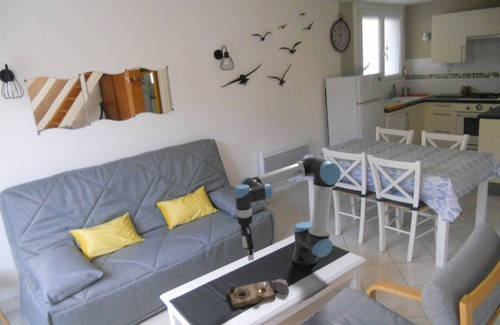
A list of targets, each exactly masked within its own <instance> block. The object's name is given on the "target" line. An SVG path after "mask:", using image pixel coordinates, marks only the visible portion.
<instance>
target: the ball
mask: <svg viewBox="0 0 500 325" xmlns="http://www.w3.org/2000/svg"><path fill="white" fill-rule="evenodd" d="M261 288H262V289H263V290H264V289H266V288H267V284H266V283H262V284H261Z"/></svg>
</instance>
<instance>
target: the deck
mask: <svg viewBox="0 0 500 325" xmlns="http://www.w3.org/2000/svg"><path fill="white" fill-rule="evenodd" d="M262 283H266V284H267V288H266V289H264V290H263V289H262V288H261V284H262ZM257 290H261V291H262V292H263V295H262V296H261V297H258V296H257V295H256V291H257ZM228 295H229V299H230V301H231V304H232V306H233V308H234V309H238V308H240V307H244V306H249V305H254V304H257V303H262V302H266V301H270V300H275V299H276V293H275V292H274V290H273V288H272V285H271V284H270V282H269V280H264V281H260V282H259V281H258V282H255V283H249V284H246V285H243V286H238V287H236V288H235V290H234V291H231V290H230V289H229V288H228Z"/></svg>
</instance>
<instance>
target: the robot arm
mask: <svg viewBox="0 0 500 325" xmlns="http://www.w3.org/2000/svg"><path fill="white" fill-rule="evenodd" d="M341 173H342V172H341V168H340V167H339V165H338V164H336V163H335V162H333V161H332V160H327V159H325V158H322V157H319V156H312V157H311V156H310V157H307V158H303V159H300V160H297V161H295V163H293V164H290V165H288V166H284V167H281V168H279V169H275V170H273V171H269V172H267V173H263V174H260V175H257V176H252V177H250V176H249V177H248V176H246V177H244V178H242V179H241V181H240V184H239V185H237V186H235V187H234V199H235V200H234V202H235V208H236V210H235V211H234V212H235V213H236V216H237V217H236V219H237V224H238V225H239V226H240V233H241V234H240V235H241V240H242V242H241V244H242V249H244V248H246V251H247V259H248V261H249V262H250V261H254V260H255V256H254V249H255V247H254V242H253V241H254V240H253V236H252V229H251V226H250V225H251V224H252V223H253V215H252V214H253V209H252V204H253V203H257V202H261V201H264V200H268V199H271V198H272V197H273V195H274V190H273V186H276V185H278V184H281V183H285V182H287V181H291V180H294V179H297V178H306V177H311V178H313V182H312V185H314V186H315V190H314V191H315V192H314V201H313V210H312V212H313V213H312V222H310V221H309V222H307V221H304V222H300V223H297V224H295V225H294V228H293V229H294V230H293V232H294V234H293V235H294V250H293V255H292V261H293V263H295V264H296V265H299V266H302V267H303V266H304V267H306V266H307V267H308V266H312V265H315V264H317V263H318V262H319V258H323V257H326V256H328V255H329V254H330V253H331V251H332V250H333V247H334V246H333V241H332V240H331V239H330V231H329V230H328V227H329V226H328V225H329V218H330V217H329V216H330V206H331V199H332V198H331V197H332V189H334V187H336V184H337V183H338V182H339V181H340V178H341V175H342V174H341Z"/></svg>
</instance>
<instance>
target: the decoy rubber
mask: <svg viewBox="0 0 500 325" xmlns="http://www.w3.org/2000/svg"><path fill="white" fill-rule="evenodd" d="M235 288H237V287H236V284H234V283H231V284H229V286H228V289H230V290H231V291H234V290H235Z"/></svg>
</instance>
